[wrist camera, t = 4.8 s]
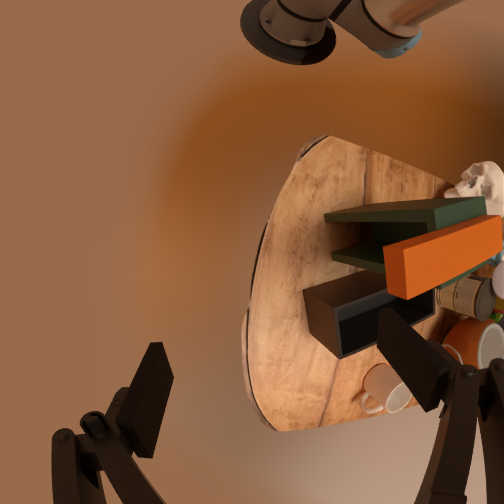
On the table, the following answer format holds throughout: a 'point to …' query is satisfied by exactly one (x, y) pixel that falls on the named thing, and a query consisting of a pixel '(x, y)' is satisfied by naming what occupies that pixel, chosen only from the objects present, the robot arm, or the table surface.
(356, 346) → the black open rectangular box
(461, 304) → the coffee can
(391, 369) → the mug
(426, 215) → the stand
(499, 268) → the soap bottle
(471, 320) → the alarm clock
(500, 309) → the taco
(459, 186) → the white skull
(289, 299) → the table surface
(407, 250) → the orange rectangular bar
